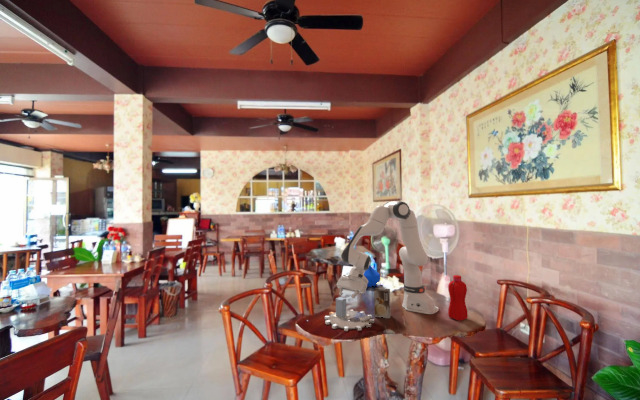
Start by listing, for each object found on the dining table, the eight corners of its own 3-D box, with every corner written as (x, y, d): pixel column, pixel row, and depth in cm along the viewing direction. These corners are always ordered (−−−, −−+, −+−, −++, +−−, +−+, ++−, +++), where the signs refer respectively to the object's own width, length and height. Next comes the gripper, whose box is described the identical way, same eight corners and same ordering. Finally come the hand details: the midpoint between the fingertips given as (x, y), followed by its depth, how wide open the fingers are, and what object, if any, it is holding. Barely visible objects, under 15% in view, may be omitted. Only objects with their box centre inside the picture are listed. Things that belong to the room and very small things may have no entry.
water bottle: (444, 317, 180) (443, 275, 180) (455, 313, 186) (455, 273, 186) (458, 322, 172) (457, 278, 172) (469, 318, 178) (469, 276, 178)
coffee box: (391, 315, 185) (390, 288, 185) (389, 318, 179) (389, 291, 179) (376, 313, 188) (375, 287, 189) (374, 317, 182) (373, 290, 183)
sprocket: (383, 319, 178) (383, 316, 178) (354, 336, 157) (354, 332, 157) (344, 308, 198) (344, 305, 198) (314, 321, 176) (314, 318, 176)
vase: (384, 287, 244) (383, 263, 244) (362, 289, 240) (362, 265, 240) (375, 281, 261) (374, 259, 262) (354, 283, 258) (354, 260, 258)
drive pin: (346, 315, 182) (346, 298, 182) (341, 317, 178) (341, 300, 178) (340, 313, 185) (340, 296, 185) (335, 315, 181) (335, 298, 181)
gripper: (340, 271, 197) (330, 290, 190) (366, 276, 184) (357, 296, 176) (344, 277, 201) (335, 295, 193) (370, 282, 187) (362, 302, 180)
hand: (346, 296), depth 185 cm, fingers open, 8 cm apart
